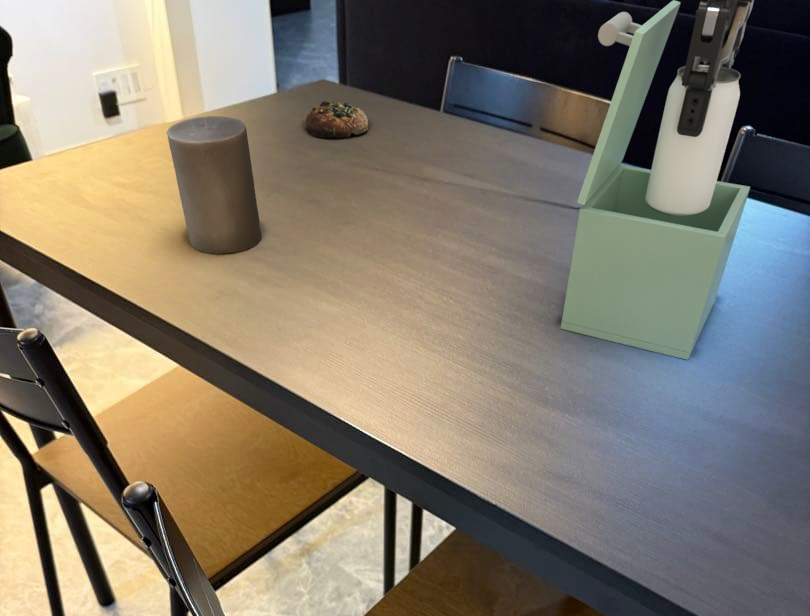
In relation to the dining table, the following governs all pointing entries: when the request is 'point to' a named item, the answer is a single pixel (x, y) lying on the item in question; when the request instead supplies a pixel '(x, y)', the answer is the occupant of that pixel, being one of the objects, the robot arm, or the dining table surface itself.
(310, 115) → the bread roll
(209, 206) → the pillar candle
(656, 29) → the lid
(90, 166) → the dining table surface
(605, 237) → the box
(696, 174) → the can
